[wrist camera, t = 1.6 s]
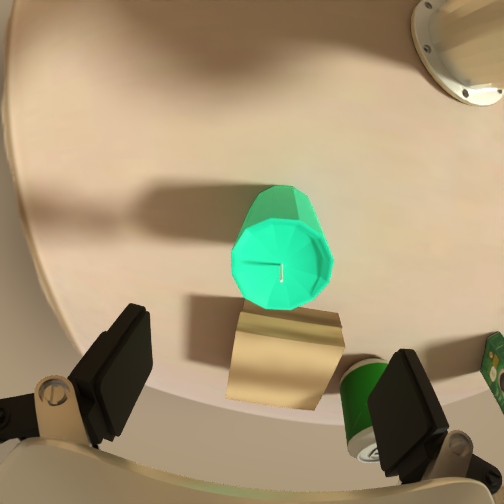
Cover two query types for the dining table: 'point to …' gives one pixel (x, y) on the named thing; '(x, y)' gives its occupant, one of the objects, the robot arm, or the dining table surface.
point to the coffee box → (494, 367)
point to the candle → (281, 251)
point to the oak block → (282, 361)
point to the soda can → (360, 407)
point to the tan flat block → (295, 314)
